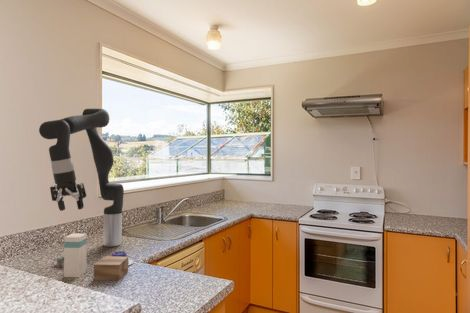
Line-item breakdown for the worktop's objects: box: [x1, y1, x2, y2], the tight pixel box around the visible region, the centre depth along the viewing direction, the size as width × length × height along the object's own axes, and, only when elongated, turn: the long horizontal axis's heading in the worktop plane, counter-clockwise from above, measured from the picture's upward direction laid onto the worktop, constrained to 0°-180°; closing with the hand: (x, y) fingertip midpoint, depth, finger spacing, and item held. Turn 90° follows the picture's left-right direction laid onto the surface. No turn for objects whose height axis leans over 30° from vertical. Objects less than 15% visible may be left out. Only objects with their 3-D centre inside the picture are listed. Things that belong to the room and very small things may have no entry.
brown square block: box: [93, 255, 129, 281], centre depth 127 cm, size 10×10×6 cm
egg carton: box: [55, 256, 64, 268], centre depth 140 cm, size 11×8×4 cm
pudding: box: [111, 250, 134, 266], centre depth 140 cm, size 12×12×5 cm
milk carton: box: [63, 232, 88, 278], centre depth 127 cm, size 6×6×16 cm
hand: (71, 209), depth 126 cm, fingers open, 8 cm apart
